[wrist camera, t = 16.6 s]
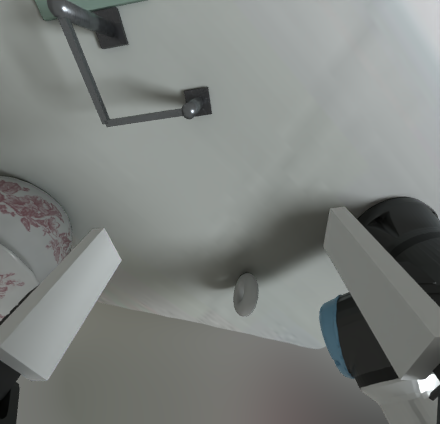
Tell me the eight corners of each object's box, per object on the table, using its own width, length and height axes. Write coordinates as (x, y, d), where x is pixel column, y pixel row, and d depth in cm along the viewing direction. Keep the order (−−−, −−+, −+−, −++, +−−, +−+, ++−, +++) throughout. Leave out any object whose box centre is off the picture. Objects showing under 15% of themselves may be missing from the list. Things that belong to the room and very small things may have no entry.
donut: (242, 289, 57) (245, 326, 48) (230, 286, 56) (231, 323, 48) (257, 266, 52) (264, 303, 43) (245, 263, 51) (249, 299, 43)
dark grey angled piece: (194, -8, 25) (178, -54, 16) (211, 113, 32) (206, 126, 24) (91, 13, 26) (25, -19, 18) (130, 125, 34) (98, 141, 25)
